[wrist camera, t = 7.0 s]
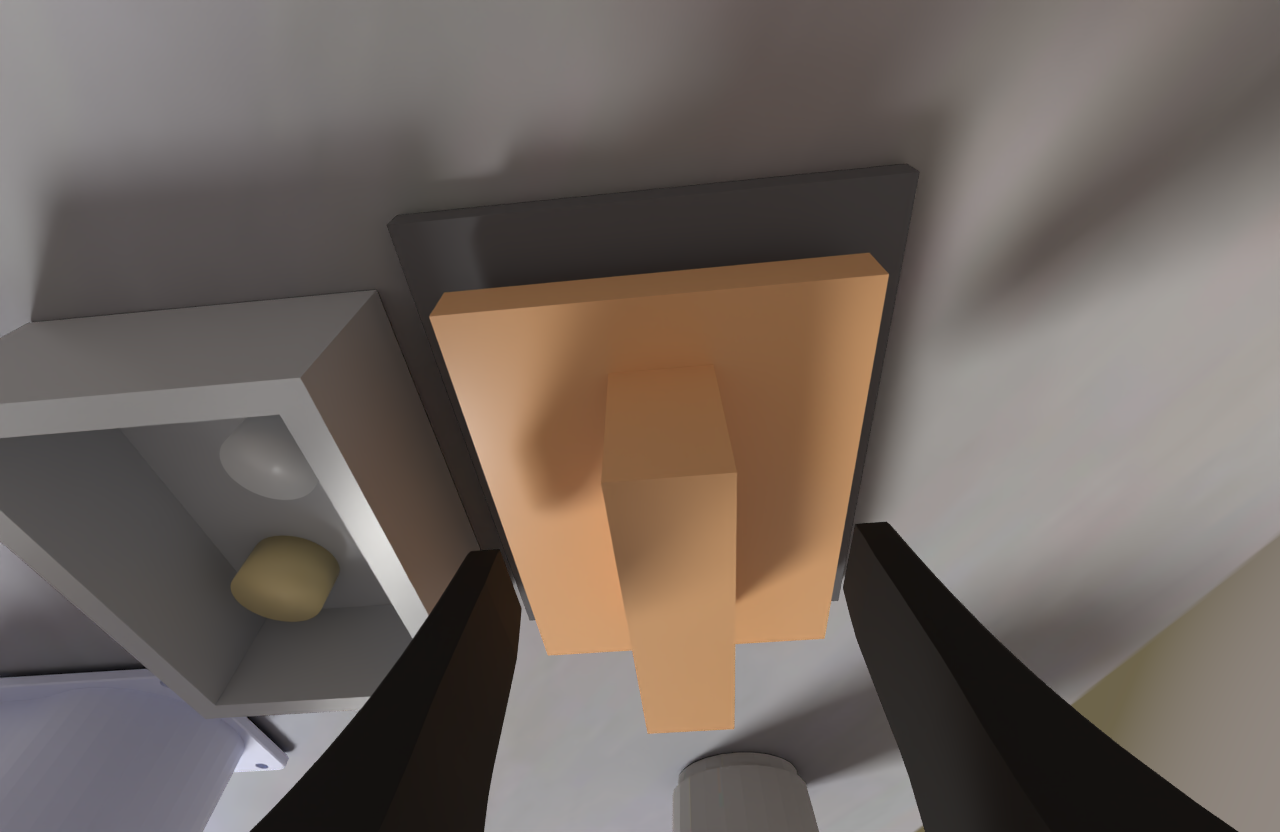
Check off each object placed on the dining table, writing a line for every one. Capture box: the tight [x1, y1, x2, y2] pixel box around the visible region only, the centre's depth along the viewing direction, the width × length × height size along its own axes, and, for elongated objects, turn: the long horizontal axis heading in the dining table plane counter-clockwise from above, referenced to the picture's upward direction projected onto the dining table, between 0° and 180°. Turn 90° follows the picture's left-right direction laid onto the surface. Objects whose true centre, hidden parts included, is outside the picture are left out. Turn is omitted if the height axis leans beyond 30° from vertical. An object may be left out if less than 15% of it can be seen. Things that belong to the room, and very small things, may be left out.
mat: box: [387, 164, 919, 620], centre depth 15 cm, size 10×13×1 cm
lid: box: [429, 253, 889, 734], centre depth 13 cm, size 8×11×5 cm
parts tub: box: [0, 290, 480, 719], centre depth 14 cm, size 8×11×4 cm
